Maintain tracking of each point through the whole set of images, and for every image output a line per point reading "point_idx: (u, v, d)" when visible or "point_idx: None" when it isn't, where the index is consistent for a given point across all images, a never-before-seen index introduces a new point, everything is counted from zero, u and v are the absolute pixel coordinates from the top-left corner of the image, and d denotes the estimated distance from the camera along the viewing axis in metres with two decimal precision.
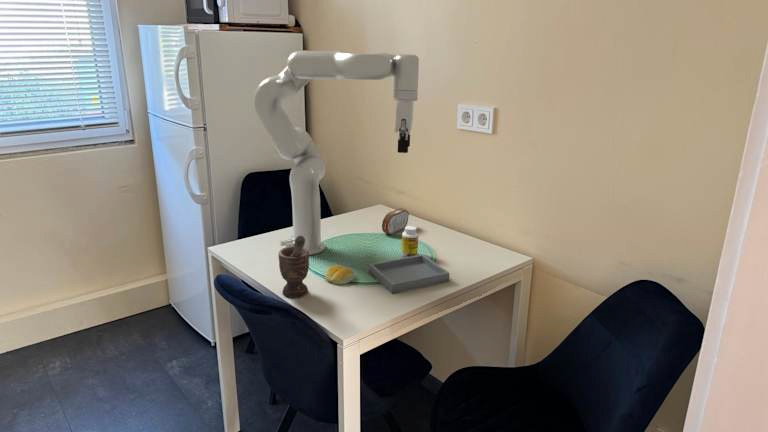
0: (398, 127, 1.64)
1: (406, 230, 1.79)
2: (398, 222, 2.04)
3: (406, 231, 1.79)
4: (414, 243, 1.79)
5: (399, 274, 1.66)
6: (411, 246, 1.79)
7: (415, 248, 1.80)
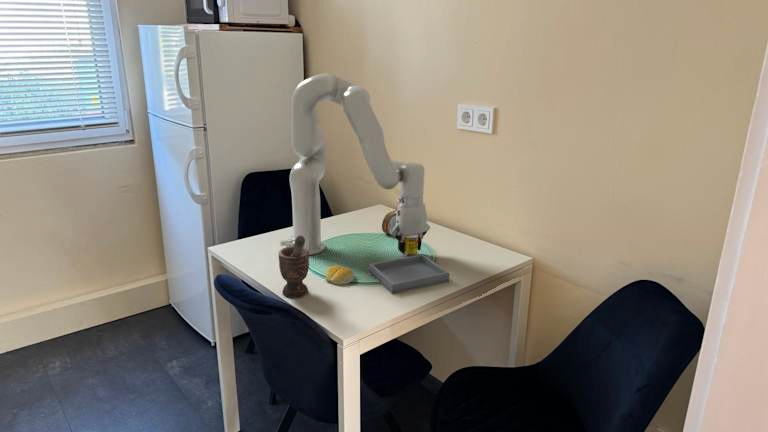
0: None
1: None
2: None
3: None
4: (414, 243, 1.79)
5: (399, 274, 1.66)
6: (411, 246, 1.79)
7: (415, 248, 1.80)
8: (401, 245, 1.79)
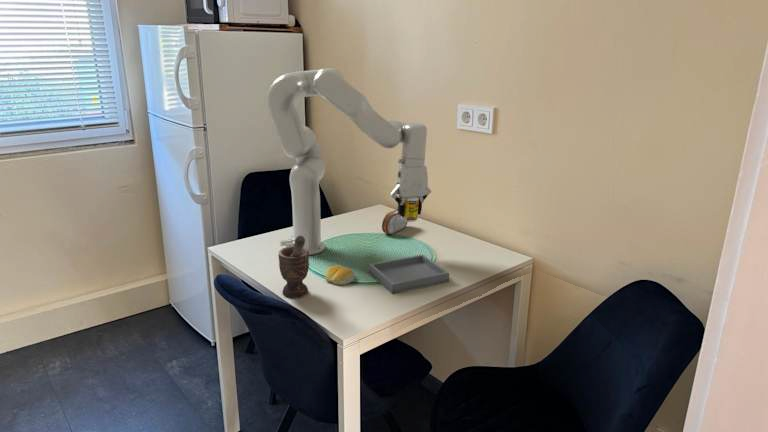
0: None
1: None
2: (398, 222, 2.04)
3: None
4: (414, 206, 1.75)
5: (399, 274, 1.66)
6: (412, 209, 1.75)
7: (415, 212, 1.76)
8: (401, 208, 1.75)
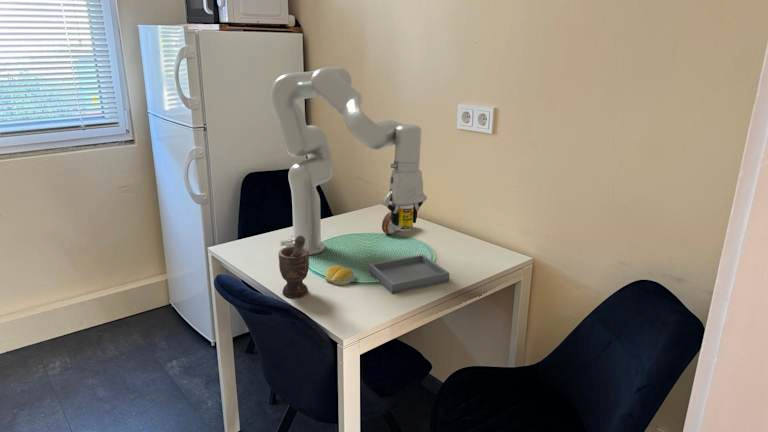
0: None
1: None
2: None
3: None
4: (409, 215, 1.61)
5: (399, 274, 1.66)
6: (406, 217, 1.61)
7: (410, 220, 1.62)
8: (394, 216, 1.61)
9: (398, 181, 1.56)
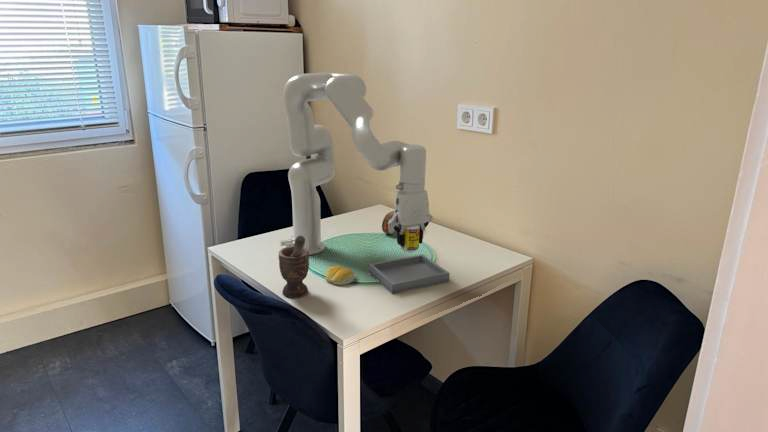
0: None
1: None
2: None
3: None
4: (415, 235, 1.60)
5: (399, 274, 1.66)
6: (412, 238, 1.59)
7: (416, 241, 1.61)
8: (400, 237, 1.60)
9: (404, 202, 1.55)
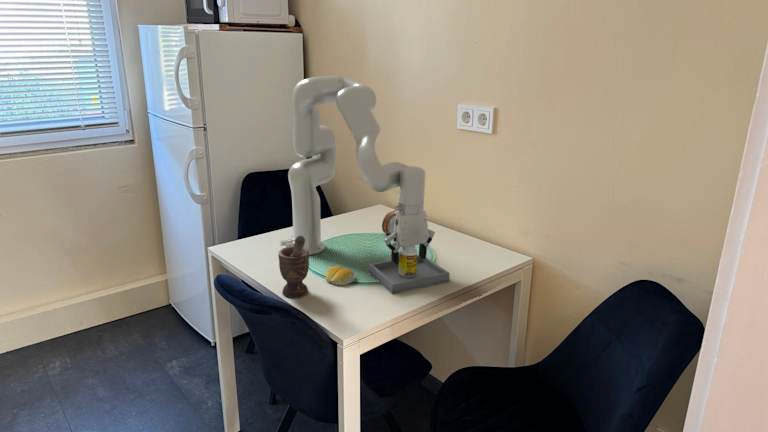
0: None
1: (404, 247, 1.62)
2: None
3: (404, 248, 1.62)
4: (412, 261, 1.62)
5: (399, 274, 1.66)
6: (410, 264, 1.62)
7: (414, 266, 1.63)
8: (395, 255, 1.61)
9: (403, 223, 1.57)
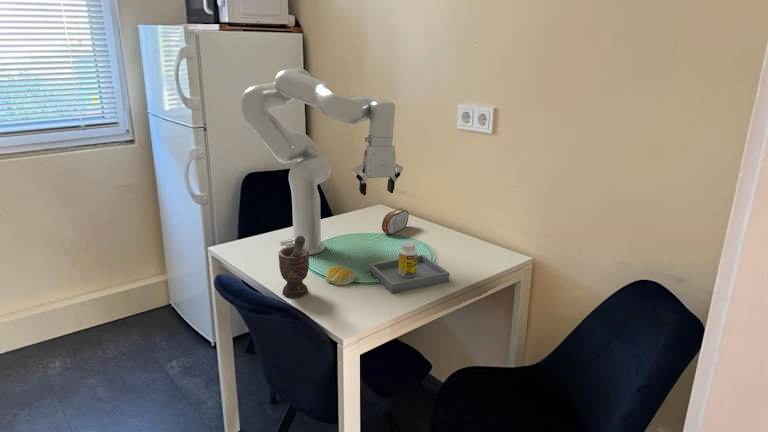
0: None
1: (404, 247, 1.62)
2: (398, 222, 2.04)
3: (404, 248, 1.62)
4: (412, 261, 1.62)
5: (399, 274, 1.66)
6: (410, 264, 1.62)
7: (414, 266, 1.63)
8: (362, 186, 1.67)
9: (371, 154, 1.62)
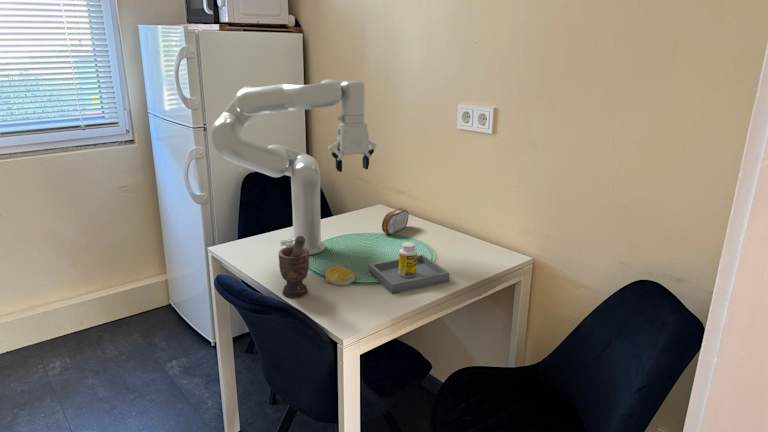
0: None
1: (404, 247, 1.62)
2: (398, 222, 2.04)
3: (404, 248, 1.62)
4: (412, 261, 1.62)
5: (399, 274, 1.66)
6: (410, 264, 1.62)
7: (414, 266, 1.63)
8: (338, 163, 1.76)
9: (344, 132, 1.72)
